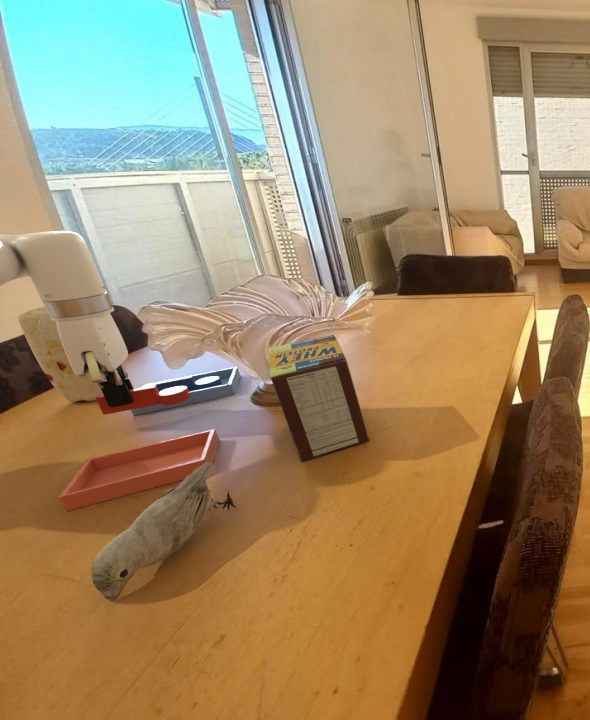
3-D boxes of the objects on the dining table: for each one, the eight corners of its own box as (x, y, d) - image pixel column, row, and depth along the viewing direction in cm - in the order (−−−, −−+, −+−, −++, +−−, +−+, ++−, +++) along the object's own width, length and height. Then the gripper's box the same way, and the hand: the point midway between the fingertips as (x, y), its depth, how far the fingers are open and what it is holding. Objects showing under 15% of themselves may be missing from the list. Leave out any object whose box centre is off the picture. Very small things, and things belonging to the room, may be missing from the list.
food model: (127, 385, 107) (85, 299, 99) (124, 395, 102) (79, 306, 94) (64, 399, 101) (14, 309, 93) (58, 410, 96) (5, 316, 89)
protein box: (356, 407, 93) (334, 333, 87) (370, 441, 82) (347, 358, 76) (293, 425, 88) (266, 347, 82) (299, 463, 76) (268, 376, 70)
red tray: (66, 511, 67) (57, 497, 66) (94, 471, 76) (87, 459, 75) (209, 472, 75) (204, 459, 74) (220, 440, 84) (215, 428, 83)
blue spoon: (146, 405, 96) (139, 389, 95) (152, 397, 100) (144, 382, 99) (221, 389, 102) (215, 375, 101) (223, 382, 106) (218, 368, 104)
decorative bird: (87, 603, 52) (54, 552, 50) (209, 506, 67) (189, 462, 64) (133, 604, 52) (103, 553, 49) (245, 506, 67) (227, 462, 64)
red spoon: (100, 418, 85) (92, 401, 84) (108, 408, 88) (100, 391, 87) (188, 401, 91) (181, 385, 89) (192, 393, 94) (186, 377, 93)
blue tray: (133, 415, 93) (128, 405, 92) (148, 394, 102) (143, 384, 101) (234, 394, 101) (230, 384, 100) (240, 376, 110) (237, 366, 109)
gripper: (67, 299, 85) (110, 391, 92) (26, 321, 73) (79, 426, 80) (124, 294, 89) (160, 383, 96) (94, 313, 76) (139, 414, 83)
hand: (123, 402), depth 88 cm, fingers closed on red spoon, 1 cm apart
